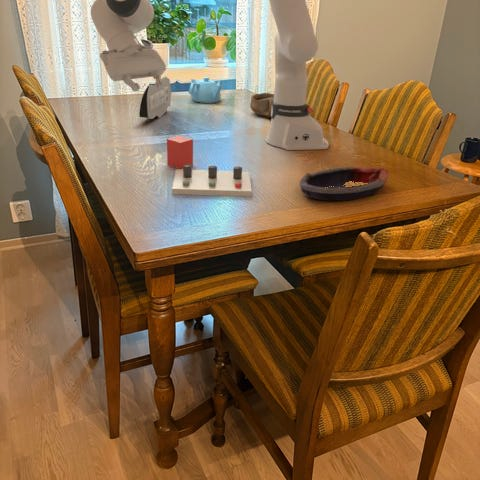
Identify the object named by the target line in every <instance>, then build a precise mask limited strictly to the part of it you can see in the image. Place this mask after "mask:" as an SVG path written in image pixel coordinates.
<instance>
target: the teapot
mask: <svg viewBox="0 0 480 480" xmlns="http://www.w3.org/2000/svg"><path fill="white" fill-rule="evenodd" d="M190 80H191V81H190V82H191V83H190V86H189V90H188V94H189V95H190V97H191V99H192V100H193V102H196V103H198V102H200V103H199V104H215V102H216V103H218V102H219V101H220V100H221V97H222V95H221V90H222V85H223V80H218V81H217V82H216V81H214V80H211V79H210V77H208V76H207V77H206V76H204V77H202V79H199V80H196V79H195V78H194V79H193V78H192V79H191V78H190Z"/></svg>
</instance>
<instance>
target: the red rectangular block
mask: <svg viewBox="0 0 480 480" xmlns="http://www.w3.org/2000/svg"><path fill="white" fill-rule="evenodd" d="M166 158H167V160H166V161H167V162H166V164H167V166H170V167H173V168H176V169H181V170H183V166H184V165H191V166H192V165H194V139H193V138H191V137H187V136H183V135H176V136H172V137H169V138H166Z"/></svg>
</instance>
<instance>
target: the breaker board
mask: <svg viewBox="0 0 480 480" xmlns="http://www.w3.org/2000/svg"><path fill="white" fill-rule="evenodd" d="M175 170H176V171H175V174H174V178H173V184H172V187H171V194H172V195H193V196H196V195H197V196H224V197H251V196H253V195H252V194H253V193H252V192H253V191H252V190H253V189H252V185H251V184H252V183H251V178H250V172H249V171H243V167H242V166H234V167H233V170H218V167H217V166H216V165H208V169H207V170H204V169H201V170H200V169H193V166H192V165H184V166H183V168H182V169H179V168H176V169H175Z"/></svg>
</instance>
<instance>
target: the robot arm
mask: <svg viewBox="0 0 480 480" xmlns="http://www.w3.org/2000/svg"><path fill="white" fill-rule="evenodd" d="M268 1H269V6H270V11H271V13H272V16H273V19H274V22H275V25H276V29H277V31H276V33H275V36H274V71H275V72H274V75H275V76H274V77H275V78H274V79H275V81H274V93H273V94H274V101H273V102H272V107H271V121H270V127H269V130H268V133H267V137H266V139H265V142H266V143H268V145H271V146H274V147H278V148H280V149H281V148H282V149H283V150H287V151H297V150H298V151H300V150H303V151H304V150H307V151H308V150H309V151H310V150H327V149H329V145H330V144H329V142H328V140H327V139H326V138H324V131H323V127H322V126H321V125H320V123H319V122H317V120H316V119H314V118H313V116H311V114H313V113H314V108H313V107H312V106H310V105H309V104H307V103H306V98H307V92H308V91H307V90H308V82H309V80H308V74H307V72H308V70H307V62H309V61H311V60H312V59H314V57H315V56H316V54H317V52H318V46H319V44H318V39H317V37H316V34H315V29H314V27H313V22H312V19H311V15H310V12H309V8H308V6H307V1H306V0H268ZM90 16H91V20H92V22H93V25H94V26H95V28H96V31H97V32H98V34H99V36H100V37H101V39H102V40H104V41H105V43H106V48H107V49H108V50H102V51H101V53H99V55H100V56H99V57H100V59H101V61H102V63H103V66H104V69H105V71H106V73H107V75H108V76H109V79H111V80H112V81H113V82H120V81H121V82H122V81H123V82H124V84H125V85H126V86H128V87H129V88H130V89H131V90H132V91H133V92H138V91H139V90H140V89H141V88H140V87H141V86H140V85H139V83H137V82H135V81H134V80H135V79H136V80H137V79H144V78H153V80H155V83H154V84H155V86H156V87H157V88H161V87H162V86H163V83H162V81H161V79H162V75H163V74H164V73H165V71H166V68H167V65H166V63H165V61H164V59H162V56H161V55H160V53H159V52H158V51H157V50H156V49H154V44H153V42H152V41H151V40H148V39H145V38H141V37H139V36H137V35H135V34H137V33H139V32H141V31H144V30H145V29H146V28H148V27H150V25H151V24H152V23H153V22H154V18H155V7H154V6H153V4H152V2H151V1H150V0H95V1H94V2H93V4H92V5H91V6H90Z"/></svg>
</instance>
